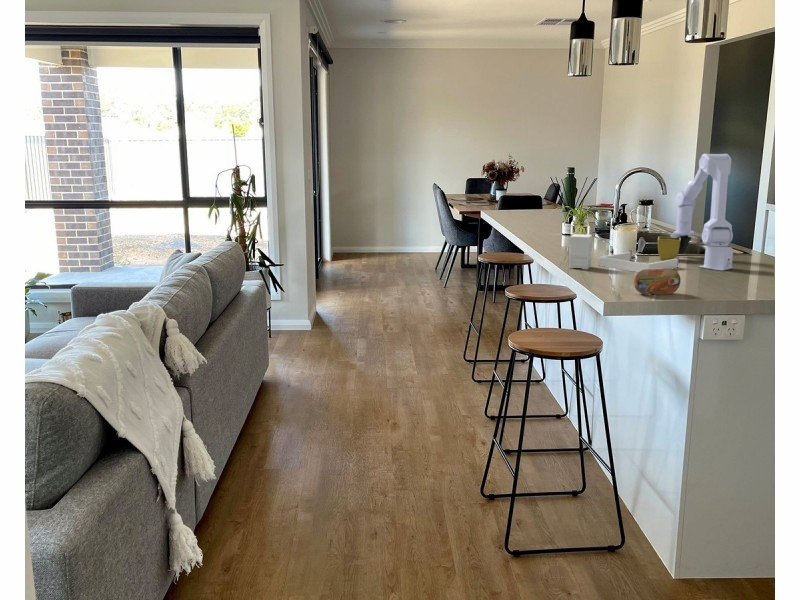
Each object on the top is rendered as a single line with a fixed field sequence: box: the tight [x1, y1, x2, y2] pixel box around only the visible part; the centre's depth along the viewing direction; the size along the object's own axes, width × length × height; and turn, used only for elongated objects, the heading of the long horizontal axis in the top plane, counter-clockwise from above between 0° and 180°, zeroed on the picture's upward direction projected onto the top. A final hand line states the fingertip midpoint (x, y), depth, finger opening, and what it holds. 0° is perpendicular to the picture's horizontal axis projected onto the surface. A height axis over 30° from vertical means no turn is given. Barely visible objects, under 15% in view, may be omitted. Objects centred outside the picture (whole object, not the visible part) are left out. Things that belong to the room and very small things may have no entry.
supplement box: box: [568, 233, 593, 270], centre depth 269 cm, size 7×7×13 cm
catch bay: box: [598, 249, 680, 273], centre depth 272 cm, size 22×21×4 cm
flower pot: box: [657, 236, 681, 261], centre depth 288 cm, size 9×9×9 cm
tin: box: [633, 268, 681, 296], centre depth 223 cm, size 15×3×8 cm, turn 100°
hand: (681, 253), depth 295 cm, fingers closed
